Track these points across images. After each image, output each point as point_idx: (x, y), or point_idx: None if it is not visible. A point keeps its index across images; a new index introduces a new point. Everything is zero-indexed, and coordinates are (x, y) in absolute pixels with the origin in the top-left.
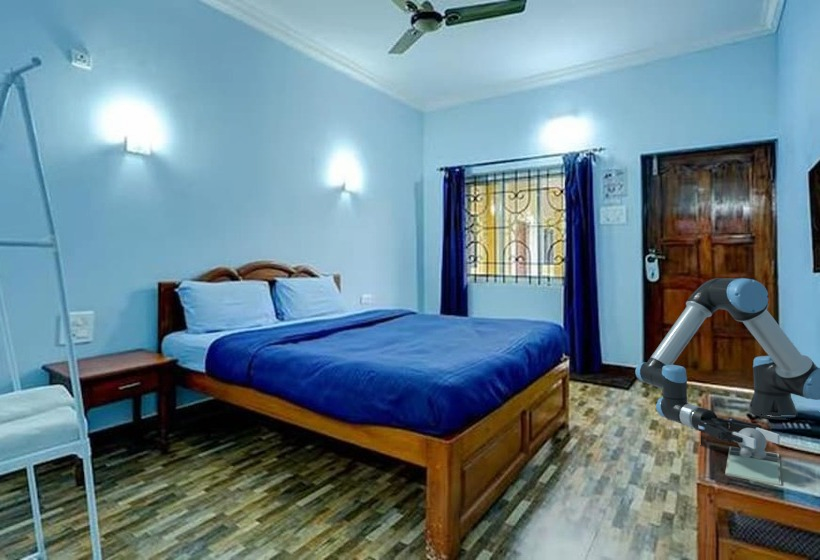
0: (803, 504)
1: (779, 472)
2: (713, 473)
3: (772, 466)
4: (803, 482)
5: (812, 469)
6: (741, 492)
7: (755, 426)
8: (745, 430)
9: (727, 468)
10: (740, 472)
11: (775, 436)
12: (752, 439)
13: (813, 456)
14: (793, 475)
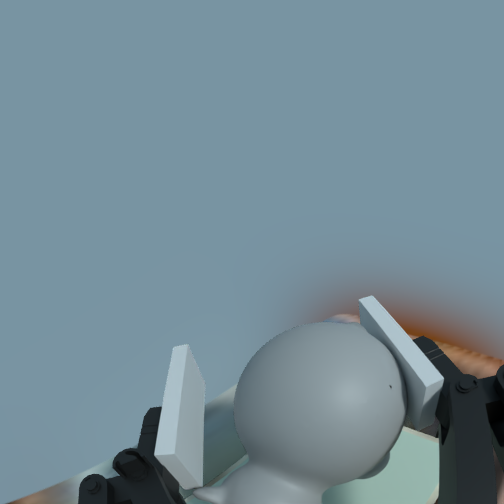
0: (340, 322)
1: (244, 458)
2: (497, 459)
3: None
4: (231, 407)
5: (112, 459)
6: (456, 352)
7: (134, 484)
8: (361, 343)
9: (431, 497)
10: (403, 458)
11: (191, 363)
12: (375, 300)
13: (17, 499)
14: (209, 447)
